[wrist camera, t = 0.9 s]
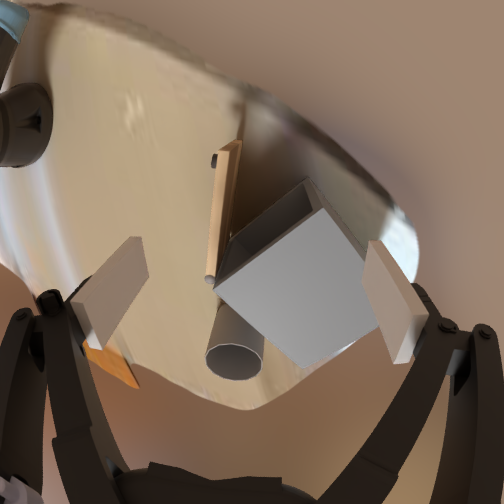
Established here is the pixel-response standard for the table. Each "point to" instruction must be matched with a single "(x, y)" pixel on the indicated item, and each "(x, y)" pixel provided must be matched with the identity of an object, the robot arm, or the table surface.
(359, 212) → the table surface
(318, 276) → the grey open box
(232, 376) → the cup
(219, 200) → the wooden cabinet door
